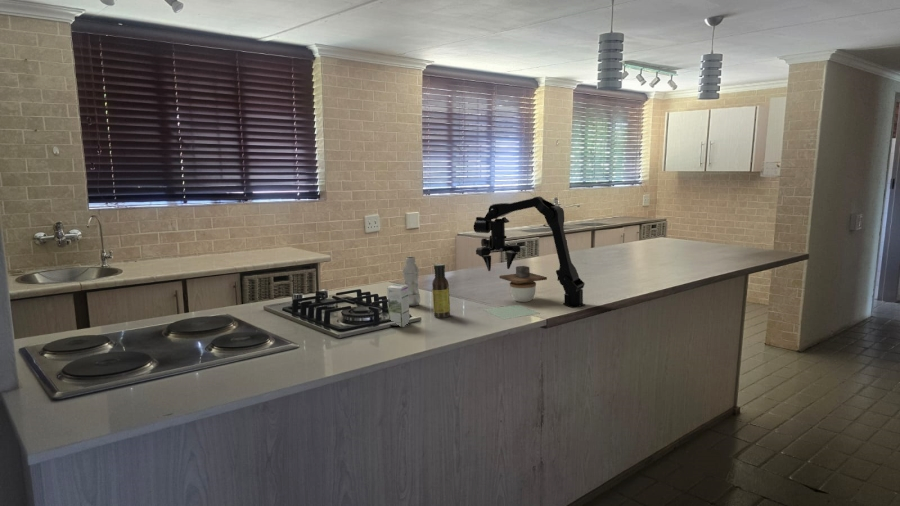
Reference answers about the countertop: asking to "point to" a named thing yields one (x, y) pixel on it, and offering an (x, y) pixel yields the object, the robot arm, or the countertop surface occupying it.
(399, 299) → the syrup box
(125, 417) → the countertop surface
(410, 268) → the plastic bottle
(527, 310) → the mat
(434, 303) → the sauce bottle
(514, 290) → the lidded jar
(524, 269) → the lid
